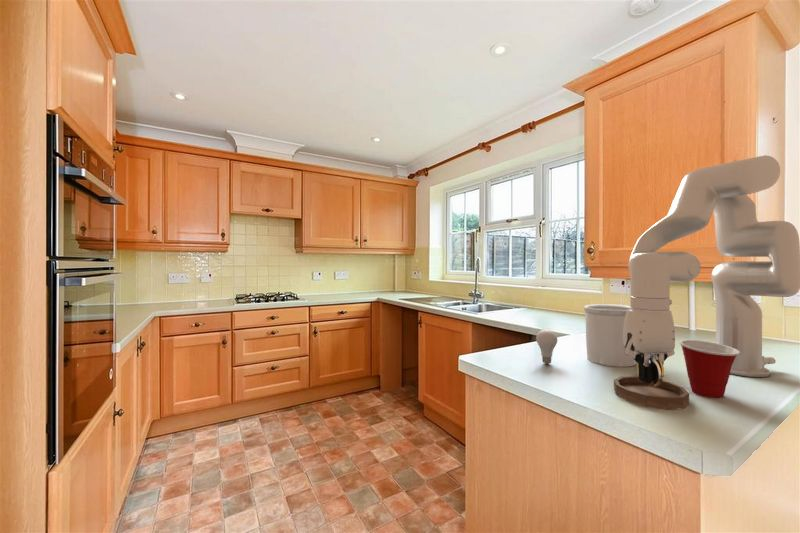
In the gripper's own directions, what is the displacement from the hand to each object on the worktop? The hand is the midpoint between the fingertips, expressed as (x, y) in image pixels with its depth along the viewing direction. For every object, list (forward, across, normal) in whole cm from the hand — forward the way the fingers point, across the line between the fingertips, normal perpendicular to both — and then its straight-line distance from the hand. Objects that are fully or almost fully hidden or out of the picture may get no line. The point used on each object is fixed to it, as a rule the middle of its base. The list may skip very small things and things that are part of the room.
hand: (649, 380), depth 81 cm
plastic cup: (+4, -15, 0) cm, 15 cm away
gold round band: (+1, 0, 0) cm, 1 cm away
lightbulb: (+4, +11, -27) cm, 29 cm away
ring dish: (+4, 0, 0) cm, 4 cm away
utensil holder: (+4, -11, -28) cm, 30 cm away
